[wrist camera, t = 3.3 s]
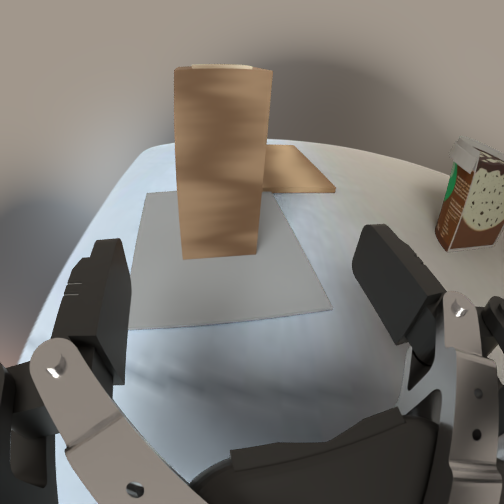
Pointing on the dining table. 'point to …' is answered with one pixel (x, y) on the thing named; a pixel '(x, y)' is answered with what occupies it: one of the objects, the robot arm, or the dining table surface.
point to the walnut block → (220, 156)
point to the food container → (472, 198)
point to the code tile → (218, 274)
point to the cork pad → (292, 172)
